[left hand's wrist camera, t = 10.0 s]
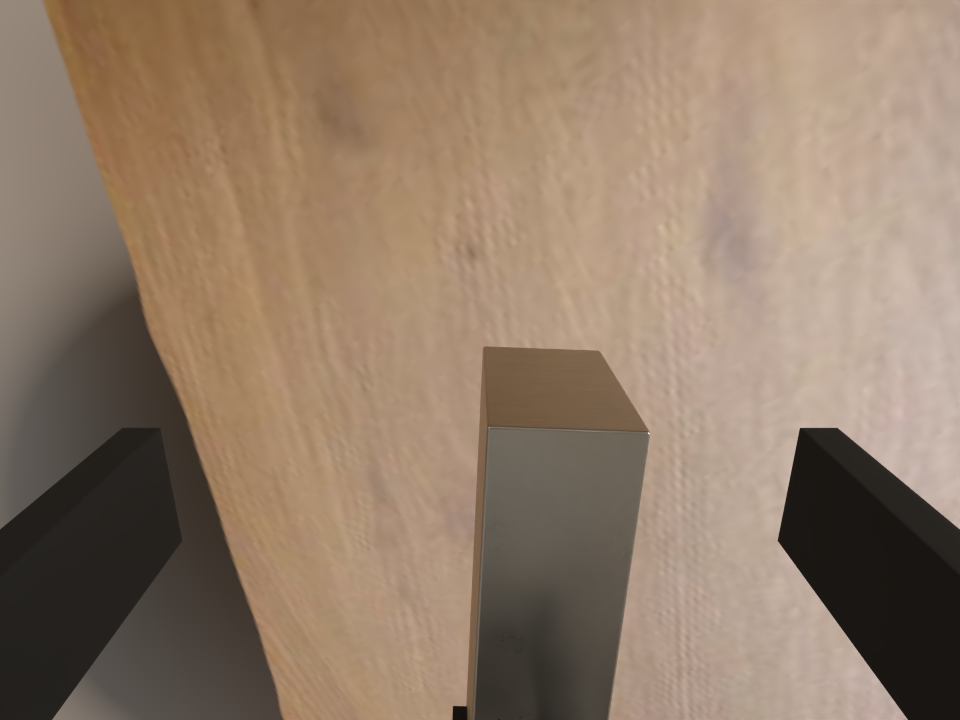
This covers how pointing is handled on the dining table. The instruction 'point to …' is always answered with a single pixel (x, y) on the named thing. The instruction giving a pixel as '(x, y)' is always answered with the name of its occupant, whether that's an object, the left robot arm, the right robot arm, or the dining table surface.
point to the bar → (551, 534)
